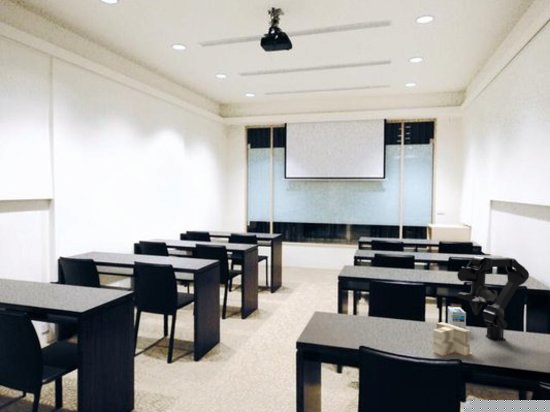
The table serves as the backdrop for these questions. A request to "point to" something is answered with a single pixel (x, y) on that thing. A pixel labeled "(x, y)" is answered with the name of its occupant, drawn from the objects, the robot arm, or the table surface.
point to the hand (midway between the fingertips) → (476, 315)
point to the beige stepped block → (450, 339)
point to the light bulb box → (457, 317)
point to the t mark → (452, 352)
